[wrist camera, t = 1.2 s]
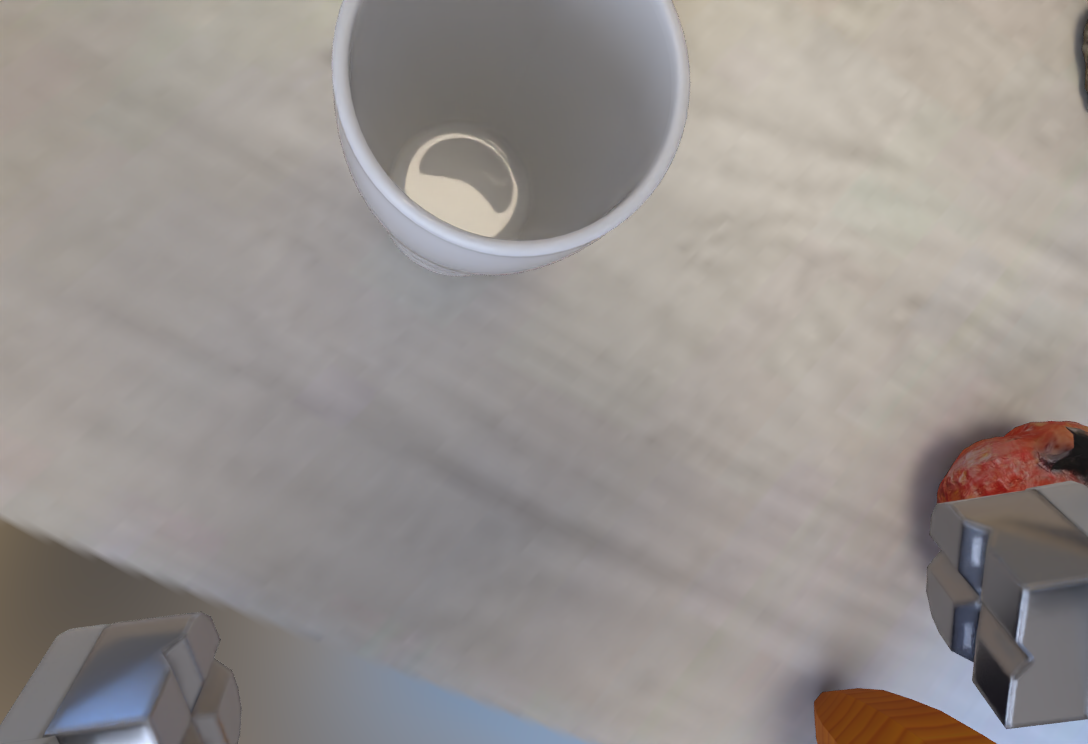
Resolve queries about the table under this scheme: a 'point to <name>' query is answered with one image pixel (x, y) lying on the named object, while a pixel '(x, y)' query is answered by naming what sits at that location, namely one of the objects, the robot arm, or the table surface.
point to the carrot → (885, 720)
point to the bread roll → (1086, 53)
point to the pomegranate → (1019, 461)
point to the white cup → (507, 122)
